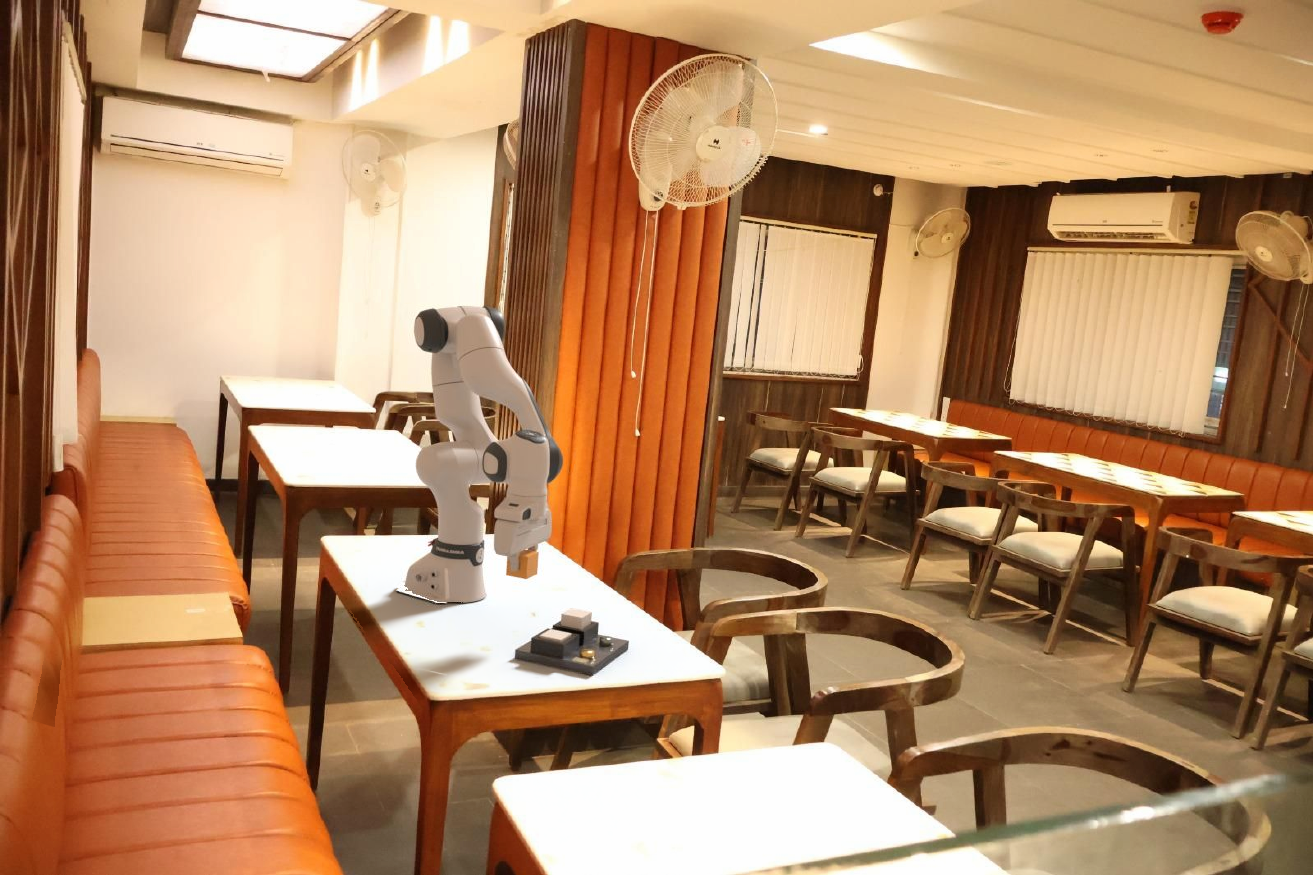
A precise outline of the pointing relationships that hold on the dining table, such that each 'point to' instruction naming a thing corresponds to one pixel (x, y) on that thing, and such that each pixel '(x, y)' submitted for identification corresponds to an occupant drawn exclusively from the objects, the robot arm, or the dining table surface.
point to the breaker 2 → (576, 618)
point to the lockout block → (525, 565)
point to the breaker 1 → (555, 635)
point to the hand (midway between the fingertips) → (522, 567)
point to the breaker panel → (573, 650)
